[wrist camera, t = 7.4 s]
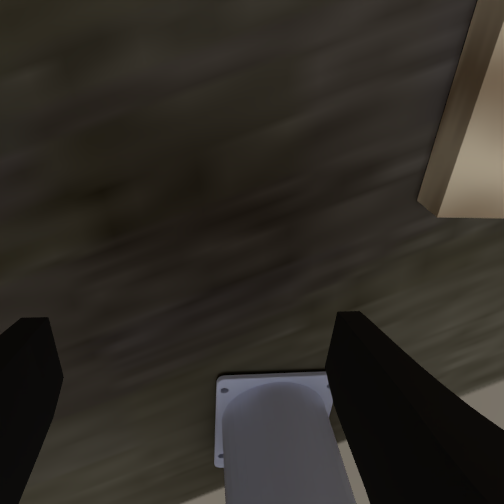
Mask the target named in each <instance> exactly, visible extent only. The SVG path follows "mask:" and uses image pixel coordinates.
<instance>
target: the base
mask: <svg viewBox="0 0 504 504" xmlns="http://www.w3.org/2000/svg"><path fill="white" fill-rule="evenodd" d="M417 201H418V202H419V203H420V204H422V205H423V206H424V207H425V208H426V209H428V210H429V211H430V212H431V213H432V214H434V215H435V216H436V217H448V218H504V0H478V1H477V4H476V7H475V10H474V14H473V17H472V20H471V24H470V27H469V30H468V34H467V37H466V40H465V43H464V47H463V50H462V53H461V57H460V60H459V63H458V67H457V70H456V73H455V76H454V80H453V83H452V86H451V90H450V93H449V96H448V100H447V103H446V106H445V109H444V113H443V116H442V119H441V123H440V126H439V129H438V133H437V136H436V139H435V142H434V146H433V149H432V152H431V156H430V159H429V162H428V166H427V169H426V172H425V175H424V179H423V182H422V185H421V189H420V192H419V195H418V198H417Z"/></svg>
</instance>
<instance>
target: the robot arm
mask: <svg viewBox="0 0 504 504" xmlns="http://www.w3.org/2000/svg"><path fill="white" fill-rule="evenodd" d="M325 370H326V371H322V372H297V373H272V374H247V375H224V376H221V377H219V378H218V379H217V382H216V416H215V449H214V465H215V466H216V467H218V468H223V467H224V479H225V496H226V497H225V498H226V504H356V501H355V498H354V495H353V492H352V489H351V486H350V482H349V480H348V476H347V473H346V470H345V467H344V464H343V461H342V458H341V454H340V451H339V448H338V445H337V442H336V439H335V436H334V432H333V429H332V426H331V423H330V420H329V416H330V412H331V408H332V404H333V403H334V406H335V409H336V412H337V414H338V417H339V420H340V423H341V425H342V428H343V431H344V433H345V436H346V439H347V441H348V444H349V447H350V449H351V452H352V455H353V457H354V460H355V463H356V465H357V468H358V471H359V473H360V476H361V478H362V481H363V484H364V487H365V489H366V492H367V495H368V498H369V501H370V504H504V430H503V429H501V428H500V427H498V426H497V425H496V424H494V423H493V422H491V421H490V420H488V419H487V418H486V417H484V416H483V415H481V414H480V413H479V412H477V411H476V410H475V409H473V408H472V407H470V406H469V405H468V404H466V403H465V402H464V401H463V400H461V399H460V398H459V397H458V396H456V395H455V394H454V393H453V392H451V391H450V390H449V389H448V388H446V387H445V386H444V385H443V384H441V383H440V382H439V381H438V380H437V379H435V378H434V377H433V376H432V375H431V374H429V373H428V372H427V371H426V370H425V369H424V368H422V367H421V366H420V365H419V364H418V363H417V362H415V361H414V360H413V359H412V358H411V357H410V356H409V355H408V354H406V353H405V352H404V351H403V350H402V349H401V348H400V347H399V346H398V345H396V344H395V343H394V342H393V341H392V340H391V339H390V338H389V337H388V336H387V335H385V334H384V333H383V332H382V331H381V330H380V329H379V328H378V327H377V326H376V325H375V324H374V323H372V322H371V321H370V320H369V319H368V318H367V317H366V316H365V315H363V314H362V313H361V312H360V311H348V312H337V316H336V321H335V325H334V329H333V334H332V338H331V343H330V347H329V351H328V356H327V360H326V365H325ZM63 378H64V377H63V373H62V369H61V365H60V361H59V357H58V353H57V349H56V345H55V342H54V338H53V334H52V330H51V326H50V322H49V318H48V317H40V318H21V319H19V320H18V321H17V322H15V323H14V324H13V325H12V326H11V327H9V328H8V329H7V330H6V331H5V332H3V333H2V334H1V335H0V504H19V501H20V499H21V496H22V494H23V491H24V489H25V486H26V484H27V482H28V479H29V477H30V474H31V472H32V469H33V467H34V464H35V462H36V459H37V457H38V454H39V452H40V449H41V447H42V444H43V442H44V439H45V437H46V434H47V432H48V429H49V427H50V424H51V422H52V419H53V416H54V412H55V409H56V405H57V401H58V398H59V394H60V390H61V386H62V382H63Z"/></svg>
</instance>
